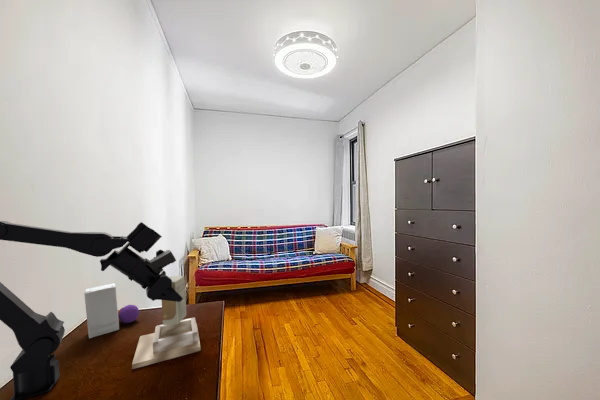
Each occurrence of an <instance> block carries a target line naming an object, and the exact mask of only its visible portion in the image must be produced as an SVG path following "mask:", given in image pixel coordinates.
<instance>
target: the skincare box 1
mask: <svg viewBox="0 0 600 400" xmlns="http://www.w3.org/2000/svg"><path fill="white" fill-rule="evenodd" d="M116 285H117V284H116V282H113V283H107V284H104V285H103V284H102V285H98V286H94V287H89V288H86V289H85V291H84V305H85V313H86V323H87V332H88V339H92V338H95V337H99V336H103V335H105V334H109V333H112V332H116V331H119V330H120V319H119V317H118V310H119V308H118V307H119V306H118V299H117V297H118V296H117V287H116Z"/></svg>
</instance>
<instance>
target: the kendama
mask: <svg viewBox="0 0 600 400" xmlns="http://www.w3.org/2000/svg"><path fill="white" fill-rule="evenodd" d="M139 315H140V309H139V307H138V306H137V305H135V304H127V305H124V307H122V308H120V309H118V317H119V321H120V322H122V323H124V324H130V323H132V322H135V321H136V320H137V319H138V317H139Z"/></svg>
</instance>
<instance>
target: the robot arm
mask: <svg viewBox="0 0 600 400" xmlns="http://www.w3.org/2000/svg"><path fill="white" fill-rule="evenodd" d="M162 237H163V236H162V235H161V234H159V233H158V232H157V231H155V230H154V229H153V228H151V227H150V226H147V225H146V224H145V223H143V222H142V221H141V222H139V223H138V224H137V226H135V228H134V229H133V230H132V231H131V232H130V233H128V235H127V236H123V235H121V236H118V235H117V236H114V235H112V234H110V233H108V232H106V231H104V232H103V231H88V232H87V231H83V232H82V231H79V232H77V231H67V230H60V229H53V228H47V227H39V226H34V225H28V224H27V225H24V224H18V223H12V222H9V221H7V220H0V240H1V241H8V242H15V243H22V244H23V243H24V244H31V245H32V244H33V245H41V246H48V247H49V246H51V247H57V248H65V249H69V250H72V251H74V252H78V253H82V254H85V255H88V256H91V257H92V256H93V257H96V258H97V257H98V258H99V257H106V256H107V255H109V254H110V253H111V252H112V251H113V250H114V251H113V252H112V253H111V254H110V255H109V256H107V257H106V258H101V259H100V260H99V263H100V267H101V268H100V271H101V272H104V271H105V270H107V269H108V268H109V267H112V268H114V270H117V271H118V272H120V273H121V274H122V275H124V276H125V277H127V278H128V280H130V281H131V282H133V281H134V282H135V283H136V284H138V285H140V287H141V288H142V289H144V290H145V292H146V297H147V298H148V299H150V300H151V301H153V302H154V301H157V300H159V301H162V300H168V301H176V302H181V301H182V299H183V298H182V297H181V296H180V295H179V294H178V293H177V292H176V291H175V290H174V289H173V288H172V280H171V278H170V277H169V275H167V274H166V271H165V270H164V268H166V267H167V266H168V265H170V264H174V263H175V262H176V261H177V259H176V257H175V256H174V254H173V253H172V251H171V250H170V249H166V250H162V249H158V250H157V251H156V252H155V256H154V257H153V258H151V259H150V260H149V259H148V258H143V257H142V256H140V255H139V254H138V253H140V254H141V253H144V252H146V253H147V252H149V251H150V250H151V248H152V247H154V245H155V244H156V243H157V242H158V241H159V240H160V239H161V238H162ZM129 247H130V248H132V249H133V250H135V251H136V252H135V251H133V250H132V249H130V248H129ZM119 248H121V249H120V250H117V249H119ZM115 249H116V250H115ZM137 252H138V253H137ZM0 321H1V322H2V323H3V324H4V325H6V326H7V327H8V328H9V329H10V330H12V332H13V334H14V336H15V339H16V341H17V344H18V345H19V347H20V349H21V351H20V353H18V355H17V357H16V358H15V360H13V362H12V363H11V365H10V367H9V368H10V370H11V371H12V380H13V382H12V383H13V395H12V396H11V398H9V400H20V399H21V400H24V398H25V399H29V398H32V397H35V396H39V395H41V394H46V393H49V392H50V390H52V389H53V386H54V385H55V384H56V383H57V381H58V380H59V379H60V376H61V374H60V361H59V360H58V359H57V358H56V357H57V356H56V353H55V352H56V351H57V350H58V349H59V347H60V345H61V342H62V341H63V338H64V337H65V336H64V335H65V330H66V329H65V327H64V323H65V321H63V320H61V319H59V318H57V316H56V314H55V313H54V312H52V311H50V312H49V313H47V314H46V315H43V314H39V313H38V312H35V311H34V309H32V308H31V307H30V306H28V305H27V304H26V303H25V302H24V301H23V300H22V299H20V297H18V296H17V295H16V294H15V293H14V292H13V291H12V290H10V289H9V288H8V287H7V286H5V284H3V283H2V282H1V281H0Z"/></svg>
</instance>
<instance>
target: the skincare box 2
mask: <svg viewBox="0 0 600 400" xmlns="http://www.w3.org/2000/svg"><path fill="white" fill-rule="evenodd" d="M169 278H171V280H172V288H173V289H174V290H175V291H176V292H177V293H178V294H179V295H180V296H181V297H182V298H183V299H182V301H181V302H176V301H168V300H161V310H162V311H161V312H162V314H161V315H162V317H161V318H162V324H163V325H177V324H178V323H179V322H180V321H181V320H184V318H185V317H186V316H187V300H186V298H187V297H186V283H185V282H186V281H185V276H184V275H177V276H175V275H174V276H170V277H169Z"/></svg>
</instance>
